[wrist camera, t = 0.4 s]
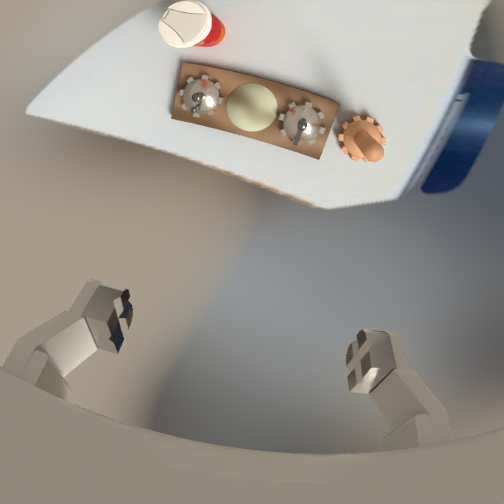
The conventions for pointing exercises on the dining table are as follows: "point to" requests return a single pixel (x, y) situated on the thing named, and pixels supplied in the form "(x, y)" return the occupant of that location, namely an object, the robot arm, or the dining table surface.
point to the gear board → (254, 108)
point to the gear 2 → (302, 123)
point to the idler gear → (362, 139)
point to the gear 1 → (201, 96)
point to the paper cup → (190, 25)
